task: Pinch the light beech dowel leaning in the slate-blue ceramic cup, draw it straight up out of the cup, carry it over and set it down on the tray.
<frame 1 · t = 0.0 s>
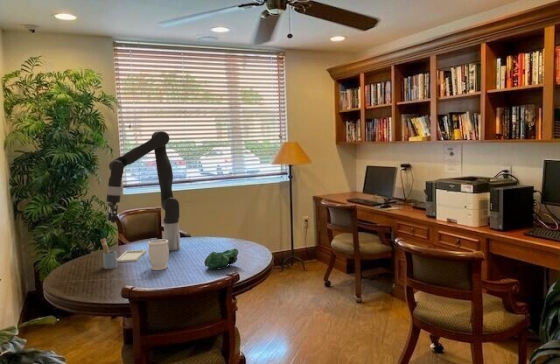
hand: (111, 221, 253), 22 cm above the table, tool pointing down, fingers open, 8 cm apart
jar: (159, 268, 233), on the table
pin: (112, 266, 235), point 1 cm above the table, touching cup
tray: (131, 258, 255), on the table
cup: (110, 268, 235), on the table
mineral: (222, 267, 231), on the table
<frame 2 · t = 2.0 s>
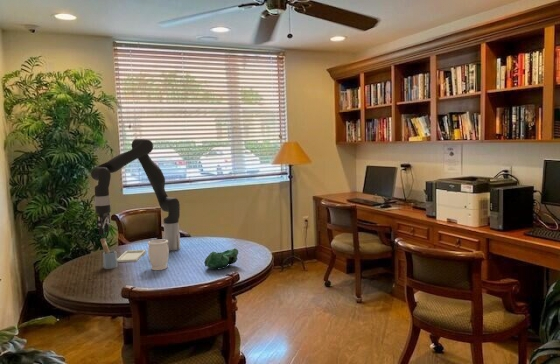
hand: (104, 233, 233), 19 cm above the table, tool pointing down, fingers open, 8 cm apart
nothing on the table moved.
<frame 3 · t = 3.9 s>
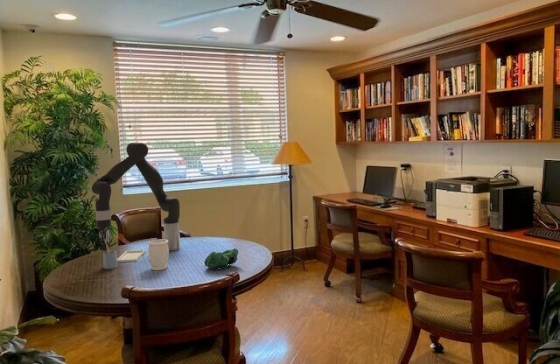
hand: (105, 249, 233), 11 cm above the table, tool pointing down, fingers closed on pin, 2 cm apart
pin: (112, 266, 235), point 1 cm above the table, touching cup, gripper
everything else where it was.
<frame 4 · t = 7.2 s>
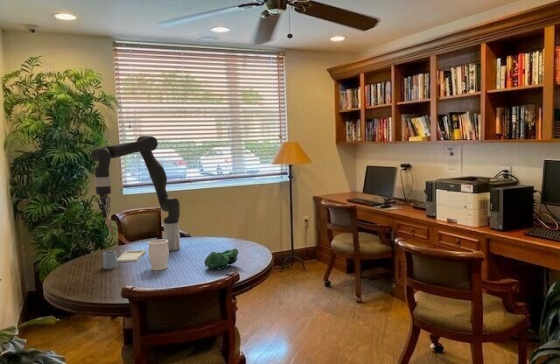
hand: (105, 216, 233), 28 cm above the table, tool pointing down, fingers closed on pin, 2 cm apart
pin: (112, 234, 234), point 19 cm above the table, touching gripper
everything else where it was.
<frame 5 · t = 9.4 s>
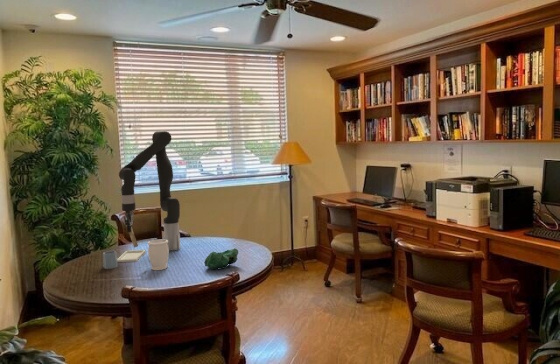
hand: (129, 231, 253), 16 cm above the table, tool pointing down, fingers closed on pin, 2 cm apart
pin: (136, 247, 254), point 6 cm above the table, touching gripper
everything else where it was.
when the fingers open (11 cm above the table, at t = 10.5 s): pin moves 4 cm and tips over, resting on tray.
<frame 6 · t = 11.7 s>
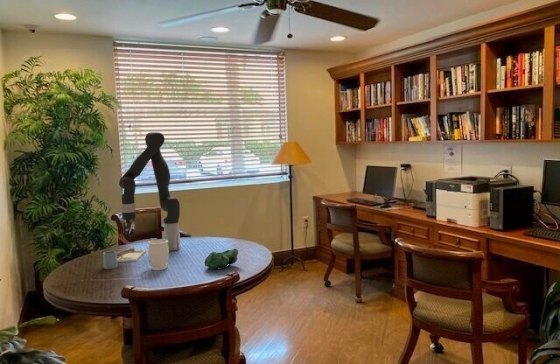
hand: (130, 238, 254), 12 cm above the table, tool pointing down, fingers open, 8 cm apart
pin: (134, 249, 255), point 5 cm above the table, tilted 91°, touching tray
everything else where it was.
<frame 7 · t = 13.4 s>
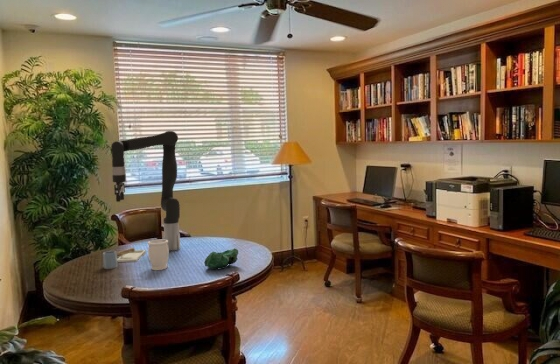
hand: (120, 200, 261), 33 cm above the table, tool pointing down, fingers open, 8 cm apart
nothing on the table moved.
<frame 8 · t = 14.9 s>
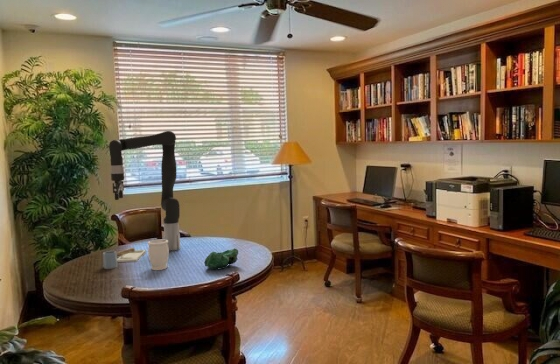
hand: (119, 198, 264), 34 cm above the table, tool pointing down, fingers open, 8 cm apart
nothing on the table moved.
at the end: pin inside the target area on the tray (1.9 cm from its centre), point 5.2 cm above the tray's base; pin touching table, tray; the gripper is holding nothing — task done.
